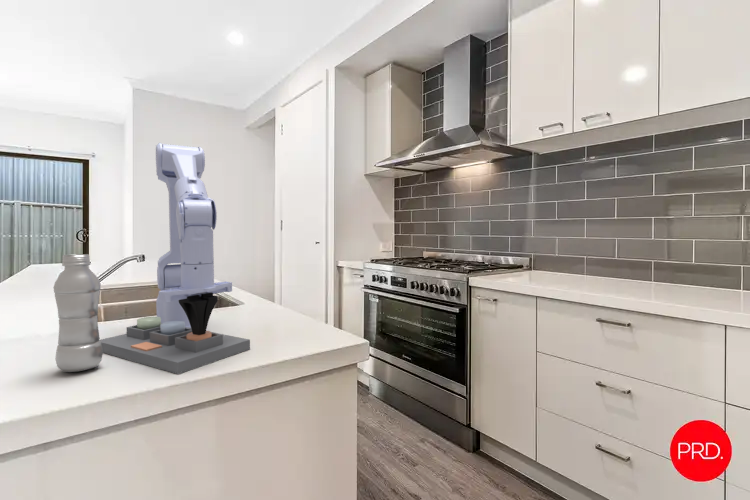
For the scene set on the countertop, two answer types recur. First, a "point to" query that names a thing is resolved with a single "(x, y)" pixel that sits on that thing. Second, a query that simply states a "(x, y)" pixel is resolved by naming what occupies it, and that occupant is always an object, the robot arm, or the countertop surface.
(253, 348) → the countertop surface
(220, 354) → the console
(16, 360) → the countertop surface
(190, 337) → the button terracotta
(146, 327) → the button sage
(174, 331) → the button slate
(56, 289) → the plastic bottle
